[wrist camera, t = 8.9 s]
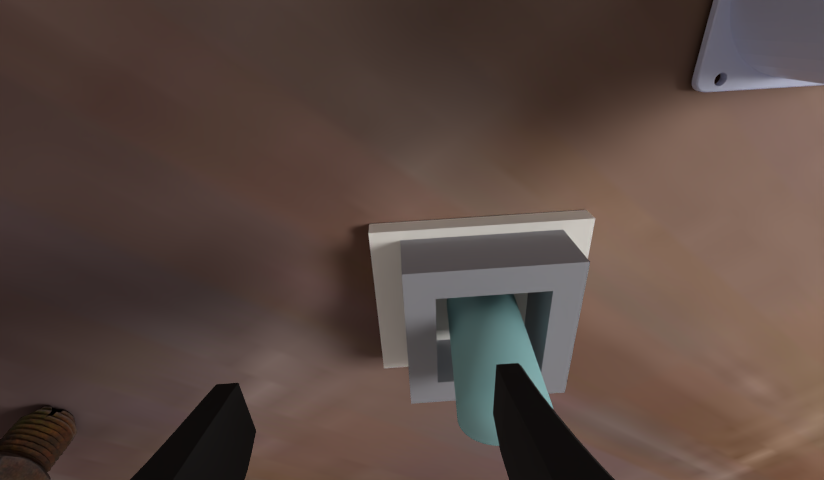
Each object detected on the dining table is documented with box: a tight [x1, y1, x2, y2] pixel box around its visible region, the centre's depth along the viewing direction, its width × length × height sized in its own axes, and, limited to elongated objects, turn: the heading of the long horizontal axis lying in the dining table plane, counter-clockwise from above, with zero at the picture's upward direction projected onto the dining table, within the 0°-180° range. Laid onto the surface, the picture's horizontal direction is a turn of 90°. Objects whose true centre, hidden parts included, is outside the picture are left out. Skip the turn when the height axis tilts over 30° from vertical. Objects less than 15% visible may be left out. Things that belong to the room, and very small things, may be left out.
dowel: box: [447, 294, 553, 446], centre depth 18 cm, size 4×4×7 cm
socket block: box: [368, 210, 595, 403], centre depth 20 cm, size 11×9×4 cm
